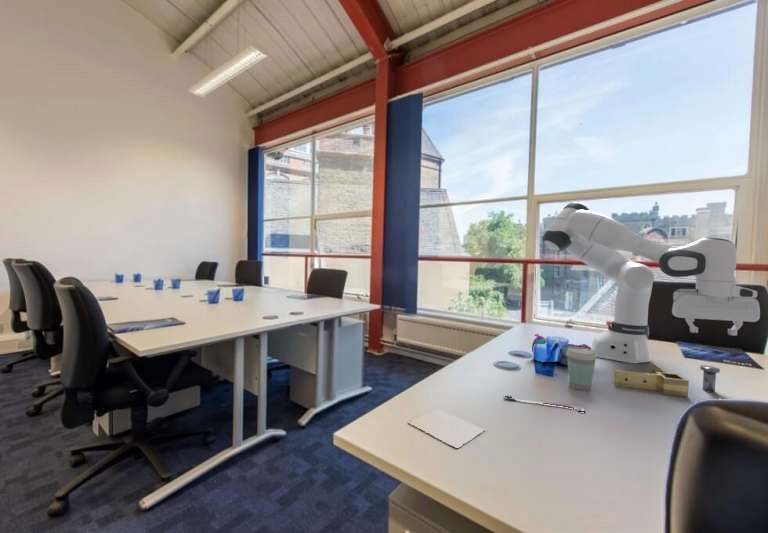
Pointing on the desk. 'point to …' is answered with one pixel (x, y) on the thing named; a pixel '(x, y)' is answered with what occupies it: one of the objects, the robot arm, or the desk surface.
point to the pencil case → (562, 354)
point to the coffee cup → (580, 367)
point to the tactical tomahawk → (554, 404)
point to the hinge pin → (709, 377)
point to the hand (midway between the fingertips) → (712, 333)
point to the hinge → (653, 380)
